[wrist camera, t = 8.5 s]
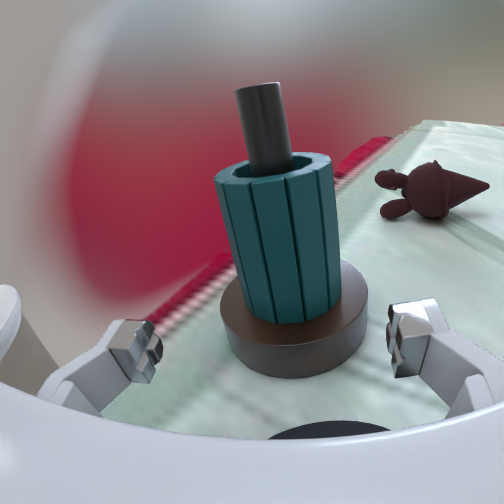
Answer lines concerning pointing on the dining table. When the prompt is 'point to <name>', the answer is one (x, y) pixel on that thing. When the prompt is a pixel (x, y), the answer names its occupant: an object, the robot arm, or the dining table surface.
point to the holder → (232, 302)
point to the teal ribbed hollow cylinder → (284, 237)
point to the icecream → (427, 190)
